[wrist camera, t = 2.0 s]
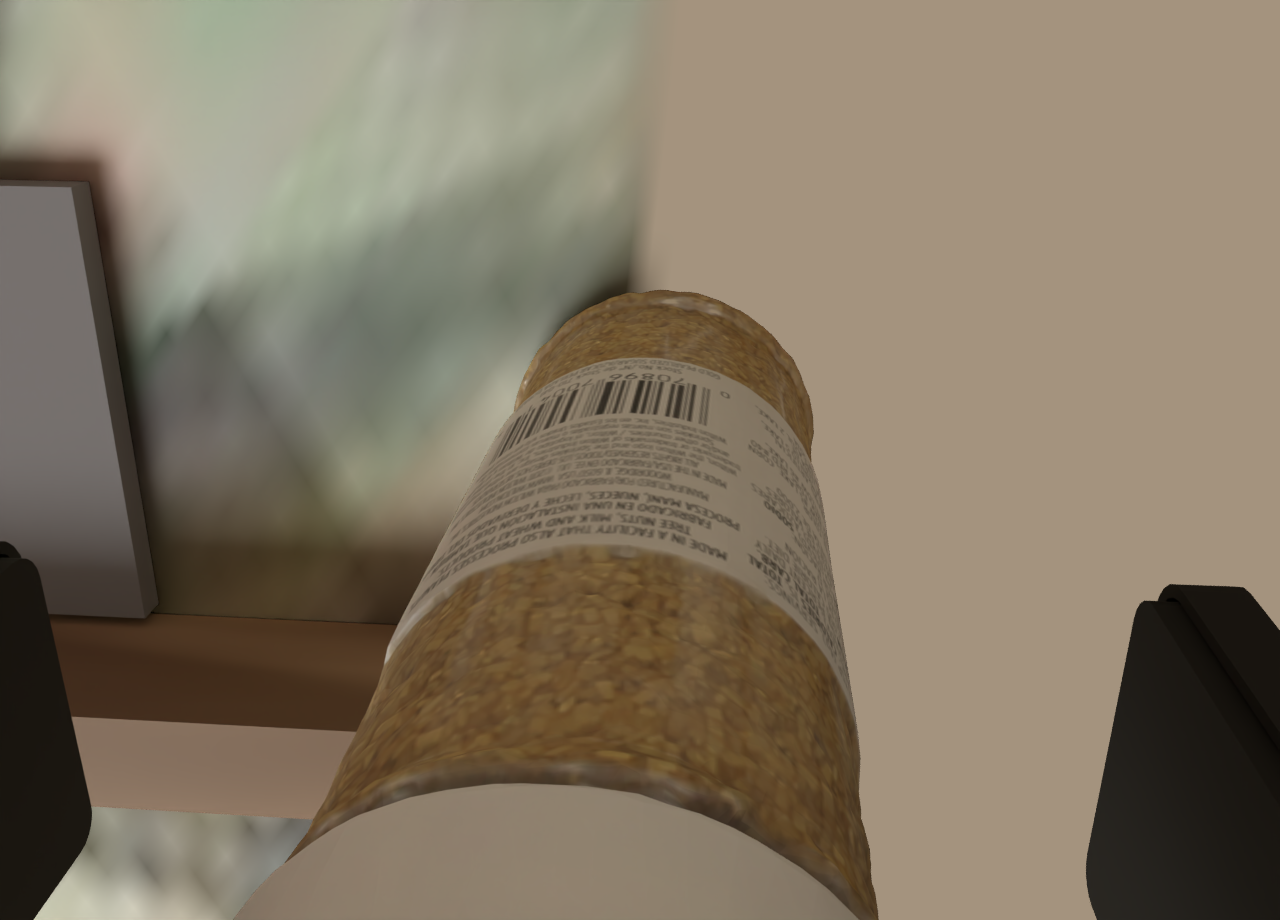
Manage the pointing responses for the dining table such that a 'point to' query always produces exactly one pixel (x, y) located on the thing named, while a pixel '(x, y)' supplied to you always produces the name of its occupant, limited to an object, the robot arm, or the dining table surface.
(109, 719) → the guide rail
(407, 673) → the sprinkles bottle
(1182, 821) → the robot arm
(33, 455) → the end pad
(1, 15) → the dining table surface
